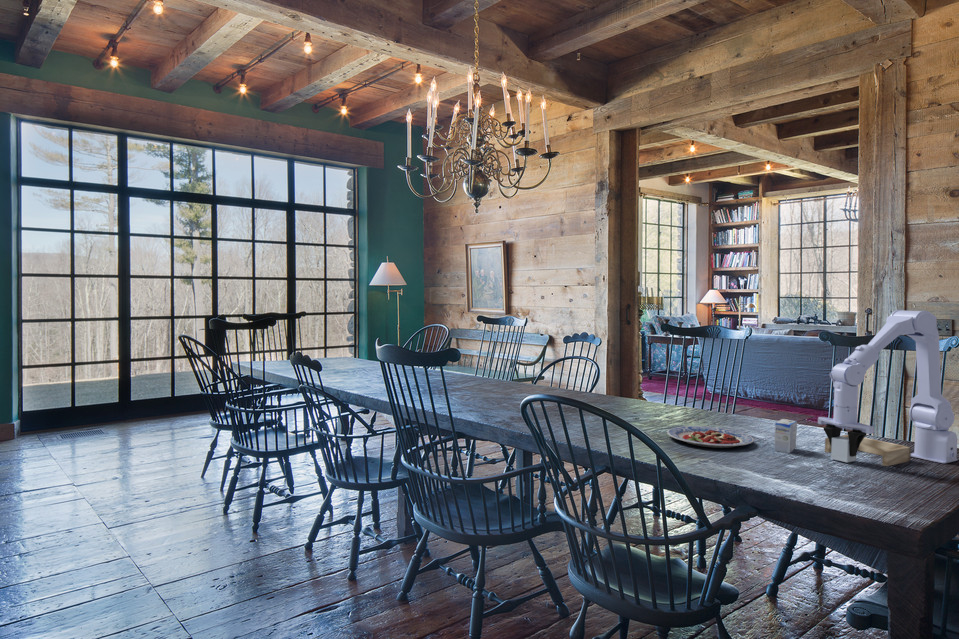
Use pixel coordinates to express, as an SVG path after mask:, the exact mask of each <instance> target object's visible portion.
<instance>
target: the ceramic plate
mask: <svg viewBox="0 0 959 639" xmlns="http://www.w3.org/2000/svg"><path fill="white" fill-rule="evenodd" d="M666 433H667V435H668V436H670V437H671V438H673V439H676V440H679V441H683V442H685V443H687V444H689V445H694V446H698V447H704V448H705V447H706V448H714V449H715V448H717V449H718V448H719V449H725V448H726V449H727V448H736V447H739V446H745V445H749V444H752V443H753V442H754V441H755V438H753V437H752V436H751V435H749V434H748V433H744V432H741V431H738V430H733V429H728V428H723V427H722V428H720V427H713V426H699V425H697V426H695V425H693V426H692V425H691V426H678V427H673V428H669V429H668V430H667V432H666Z"/></svg>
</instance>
